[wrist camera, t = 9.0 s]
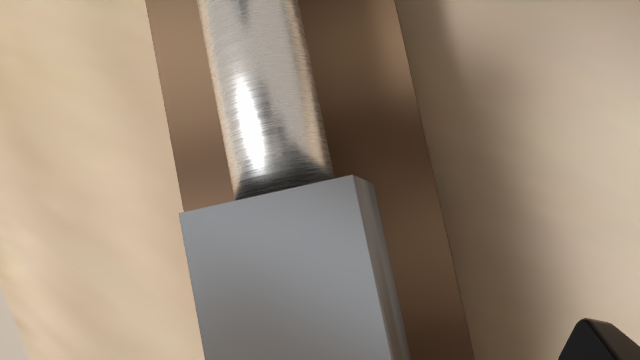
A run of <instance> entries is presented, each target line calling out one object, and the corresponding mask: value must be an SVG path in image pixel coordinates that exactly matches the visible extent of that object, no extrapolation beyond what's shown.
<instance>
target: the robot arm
mask: <svg viewBox="0 0 640 360" xmlns="http://www.w3.org/2000/svg"><path fill="white" fill-rule="evenodd" d="M558 360H640V346H638V345H637V344H636V343H635V342H634V341H632V340H631V339H630V338H629V337H627V336H626V335H625V334H624V333H623V332H621V331H620V330H619V329H618V328H616V327H615V326H614V325H613V324H611V323H608V322H604V321H599V320H594V319H588V318H584V319H581V320H580V321H579V322H578V323H577V324H576V326H575V327H574V329H573V331H572V333H571V335H570V337H569V339H568V341H567V343H566V345H565V347H564V348H563V350H562V352H561V354H560V356H559V359H558Z"/></svg>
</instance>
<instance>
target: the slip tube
mask: <svg viewBox="0 0 640 360" xmlns="http://www.w3.org/2000/svg"><path fill="white" fill-rule="evenodd" d="M197 5H198V10H199V15H200V21H201V26H202V31H203V36H204V41H205V47H206V52H207V57H208V62H209V68H210V73H211V78H212V83H213V89H214V94H215V99H216V104H217V110H218V115H219V120H220V125H221V131H222V136H223V141H224V146H225V151H226V157H227V162H228V167H229V172H230V178H231V183H232V188H233V193H234V199H235V201H236V200H241V199H245V198H250V197H254V196H259V195H263V194H268V193H272V192H277V191H281V190H286V189H290V188H295V187H299V186H304V185H308V184H313V183H317V182H322V181H326V180H331V179H335V178H334V173H333V168H332V163H331V158H330V153H329V149H328V144H327V139H326V134H325V129H324V125H323V120H322V115H321V110H320V105H319V100H318V96H317V91H316V86H315V81H314V76H313V72H312V67H311V62H310V57H309V52H308V47H307V43H306V38H305V33H304V28H303V23H302V19H301V14H300V9H299V4H298V0H197Z"/></svg>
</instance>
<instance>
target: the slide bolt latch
mask: <svg viewBox="0 0 640 360" xmlns="http://www.w3.org/2000/svg"><path fill="white" fill-rule="evenodd" d="M145 1H146V7H147V12H148V18H149V23H150V29H151V34H152V40H153V45H154V50H155V56H156V61H157V67H158V72H159V78H160V83H161V89H162V94H163V100H164V105H165V111H166V116H167V122H168V127H169V133H170V138H171V144H172V149H173V155H174V160H175V166H176V171H177V177H178V182H179V188H180V193H181V199H182V204H183V209H184V212H183V213H179V218H180V223H181V229H182V234H183V240H184V245H185V251H186V256H187V262H188V267H189V273H190V278H191V284H192V289H193V295H194V300H195V306H196V311H197V317H198V323H199V328H200V334H201V339H202V345H203V350H204V356H205V360H475V359H474V355H473V350H472V346H471V342H470V337H469V333H468V328H467V324H466V319H465V315H464V310H463V306H462V301H461V297H460V292H459V288H458V283H457V279H456V274H455V270H454V265H453V261H452V257H451V252H450V248H449V243H448V239H447V234H446V230H445V225H444V221H443V216H442V212H441V207H440V203H439V198H438V194H437V189H436V185H435V180H434V176H433V172H432V167H431V163H430V158H429V154H428V149H427V145H426V140H425V136H424V131H423V127H422V122H421V118H420V113H419V109H418V104H417V100H416V95H415V91H414V87H413V82H412V78H411V73H410V69H409V64H408V60H407V55H406V51H405V46H404V42H403V37H402V33H401V28H400V24H399V19H398V15H397V10H396V6H395V2H394V0H298V4H299V9H300V14H301V19H302V23H303V28H304V33H305V38H306V43H307V47H308V52H309V57H310V62H311V67H312V72H313V76H314V81H315V86H316V91H317V96H318V100H319V105H320V110H321V115H322V120H323V125H324V129H325V134H326V139H327V144H328V149H329V153H330V158H331V163H332V168H333V173H334V178H335V179H331V180H326V181H322V182H317V183H313V184H308V185H304V186H299V187H295V188H290V189H286V190H281V191H277V192H272V193H268V194H263V195H259V196H254V197H250V198H245V199H241V200H236V201H235V199H234V193H233V188H232V183H231V178H230V172H229V167H228V162H227V157H226V151H225V146H224V141H223V136H222V131H221V125H220V120H219V115H218V110H217V104H216V99H215V94H214V89H213V83H212V78H211V73H210V68H209V62H208V57H207V52H206V47H205V41H204V36H203V31H202V26H201V21H200V15H199V10H198V5H197V0H145Z"/></svg>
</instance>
